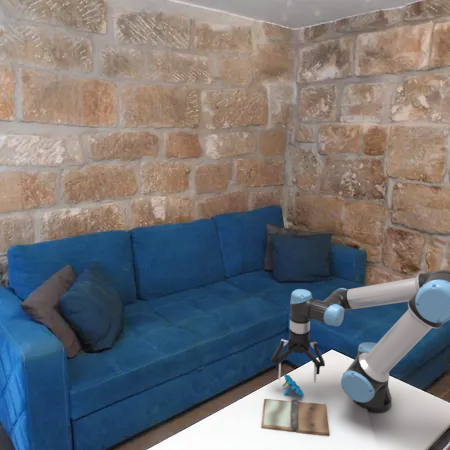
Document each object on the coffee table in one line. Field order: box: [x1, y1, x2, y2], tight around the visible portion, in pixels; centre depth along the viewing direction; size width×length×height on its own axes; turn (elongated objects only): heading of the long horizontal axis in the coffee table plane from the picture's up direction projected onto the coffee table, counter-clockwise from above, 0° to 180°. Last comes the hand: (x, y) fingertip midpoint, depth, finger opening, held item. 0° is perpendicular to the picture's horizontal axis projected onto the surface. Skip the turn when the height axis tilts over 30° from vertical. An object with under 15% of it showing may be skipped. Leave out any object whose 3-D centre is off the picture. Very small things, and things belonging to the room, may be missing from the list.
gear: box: [282, 374, 304, 397], centre depth 170 cm, size 11×6×10 cm
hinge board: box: [261, 398, 330, 437], centre depth 157 cm, size 23×16×2 cm
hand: (296, 379), depth 170 cm, fingers open, 13 cm apart
